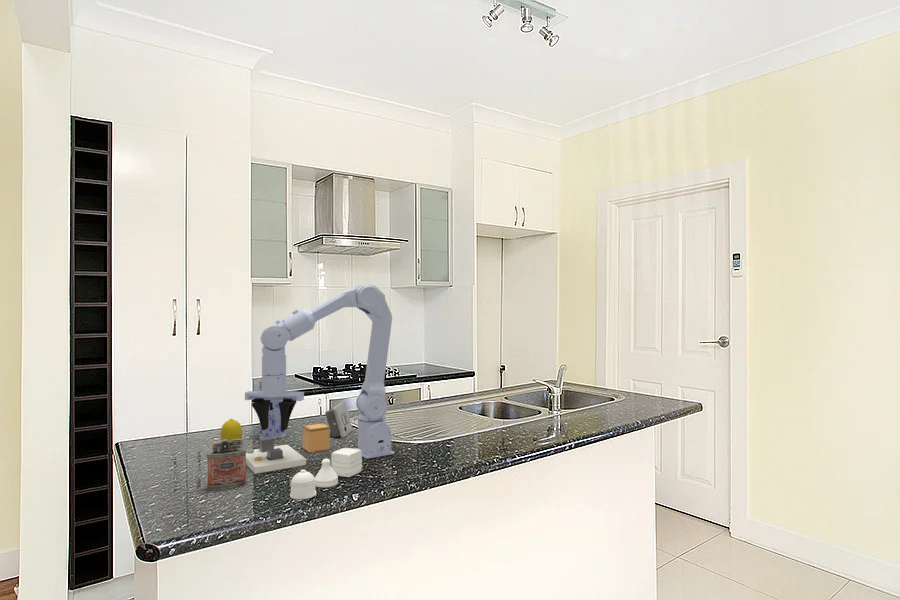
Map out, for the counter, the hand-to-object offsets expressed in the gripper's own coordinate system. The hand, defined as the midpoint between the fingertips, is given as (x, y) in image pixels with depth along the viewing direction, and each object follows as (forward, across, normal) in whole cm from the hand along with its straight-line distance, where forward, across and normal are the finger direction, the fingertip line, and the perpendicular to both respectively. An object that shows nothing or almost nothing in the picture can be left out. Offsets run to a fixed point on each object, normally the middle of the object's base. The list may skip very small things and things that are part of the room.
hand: (274, 429), depth 133 cm
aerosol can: (+9, +13, -26) cm, 31 cm away
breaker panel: (+8, +2, -2) cm, 9 cm away
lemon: (+9, +19, -12) cm, 24 cm away
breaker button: (+8, 0, 0) cm, 8 cm away
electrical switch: (+9, -6, -30) cm, 32 cm away
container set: (+9, -18, +13) cm, 24 cm away
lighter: (+9, +3, +16) cm, 19 cm away
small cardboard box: (+8, -5, -14) cm, 17 cm away
